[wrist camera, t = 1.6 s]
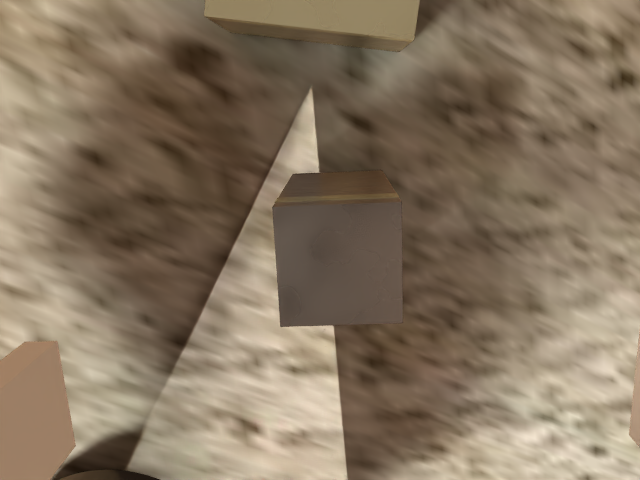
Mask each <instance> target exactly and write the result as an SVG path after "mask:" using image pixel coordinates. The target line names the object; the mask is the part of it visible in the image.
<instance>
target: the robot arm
mask: <svg viewBox="0 0 640 480" xmlns="http://www.w3.org/2000/svg"><path fill="white" fill-rule="evenodd" d="M629 435H630V437H631V438H632V439H633V440H634V441H635V442H636V444H637V445H638V446H639V447H640V331H639V341H638V351H637V361H636V371H635V380H634V390H633V400H632V410H631V420H630V430H629ZM75 446H76V445H75V439H74V433H73V428H72V422H71V416H70V411H69V405H68V399H67V394H66V388H65V382H64V377H63V371H62V365H61V359H60V354H59V348H58V342H57V341H38V342H24V343H23V344H22V345H20V346H19V347H18V348H16V349H15V350H14V351H12V352H11V353H10V354H9V355H7V356H6V357H5V358H3V359H2V360H1V361H0V480H50V479H51V477H52V476H53V475H54V474H55V472H56V471H57V470H58V468H59V467H60V466H61V464H62V463H63V462H64V460H65V459H66V458H67V457H68V455H69V454H70V453H71V451H72V450H73V449H74V447H75ZM59 480H159V479H157V478H154V477H151V476H148V475H144V474H140V473H135V472H130V471H123V470H93V471H86V472H81V473H77V474H73V475H70V476H67V477H64V478H61V479H59Z"/></svg>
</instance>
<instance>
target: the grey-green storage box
mask: <svg viewBox="0 0 640 480" xmlns="http://www.w3.org/2000/svg"><path fill="white" fill-rule="evenodd" d="M419 2H420V0H205V11H204V16H205V17H206V18H208V19H210V20H211V21H213V22H214V23H216V24H218V25H219V26H221V27H222V28H224V29H226V30H227V31H229V32H230V33H238V34H247V35H255V36H264V37H273V38H281V39H290V40H299V41H308V42H316V43H325V44H334V45H342V46H351V47H360V48H369V49H377V50H386V51H395V52H400V51H401V50H402V49H404V48H405V47H406V46H407V45H409V44H410V43H411V42H412V41H414V37H415V30H416V23H417V16H418V9H419Z"/></svg>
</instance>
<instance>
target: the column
mask: <svg viewBox="0 0 640 480" xmlns="http://www.w3.org/2000/svg"><path fill="white" fill-rule="evenodd" d="M272 209H273V224H274V238H275V253H276V268H277V283H278V298H279V312H280V327H289V326H323V325H356V324H390V323H403V284H402V202H401V200H400V198H399V195H398V194H397V193H396V192H395V190H394V189H393V187H392V185H391V184H390V182H389V181H388V179H387V177H386V176H385V174H384V172H383V171H382V170H373V171H349V172H325V173H300V174H293V175H292V176H291V178H290V179H289V181H288V183H287V184H286V186H285V187H284V189H283V191H282V192H281V194H280V195H279V197H278V198H277V199H276V201H275V204H274V205H273V207H272Z"/></svg>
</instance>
